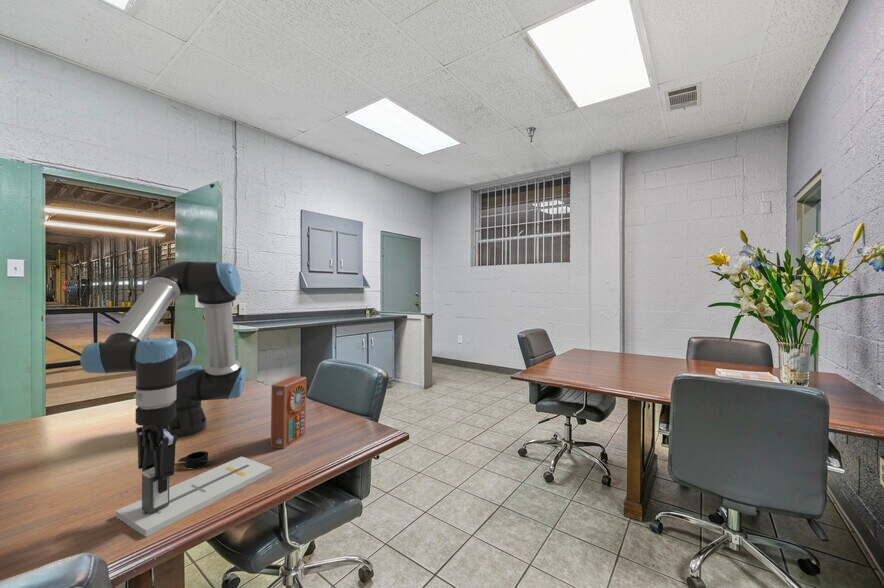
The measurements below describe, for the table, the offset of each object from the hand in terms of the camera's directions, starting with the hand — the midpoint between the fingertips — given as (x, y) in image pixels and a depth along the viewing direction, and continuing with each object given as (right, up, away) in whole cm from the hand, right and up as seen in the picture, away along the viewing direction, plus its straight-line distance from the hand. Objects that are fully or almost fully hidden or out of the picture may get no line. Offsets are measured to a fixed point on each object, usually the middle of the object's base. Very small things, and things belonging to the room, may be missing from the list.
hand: (155, 501), depth 85 cm
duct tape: (-7, -3, +24) cm, 25 cm away
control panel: (+14, -3, +42) cm, 44 cm away
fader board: (+5, -3, +10) cm, 11 cm away
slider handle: (0, -1, 0) cm, 1 cm away
